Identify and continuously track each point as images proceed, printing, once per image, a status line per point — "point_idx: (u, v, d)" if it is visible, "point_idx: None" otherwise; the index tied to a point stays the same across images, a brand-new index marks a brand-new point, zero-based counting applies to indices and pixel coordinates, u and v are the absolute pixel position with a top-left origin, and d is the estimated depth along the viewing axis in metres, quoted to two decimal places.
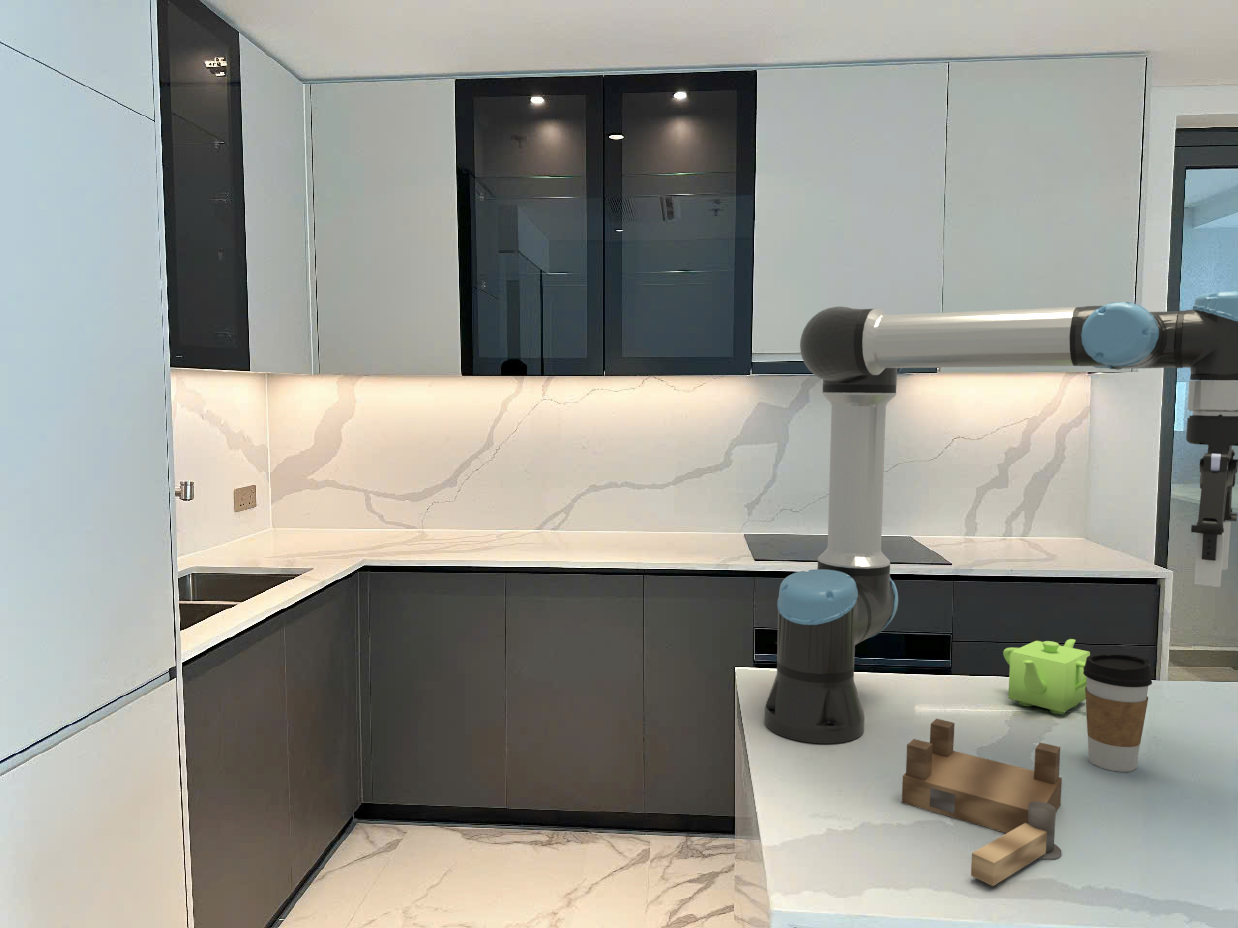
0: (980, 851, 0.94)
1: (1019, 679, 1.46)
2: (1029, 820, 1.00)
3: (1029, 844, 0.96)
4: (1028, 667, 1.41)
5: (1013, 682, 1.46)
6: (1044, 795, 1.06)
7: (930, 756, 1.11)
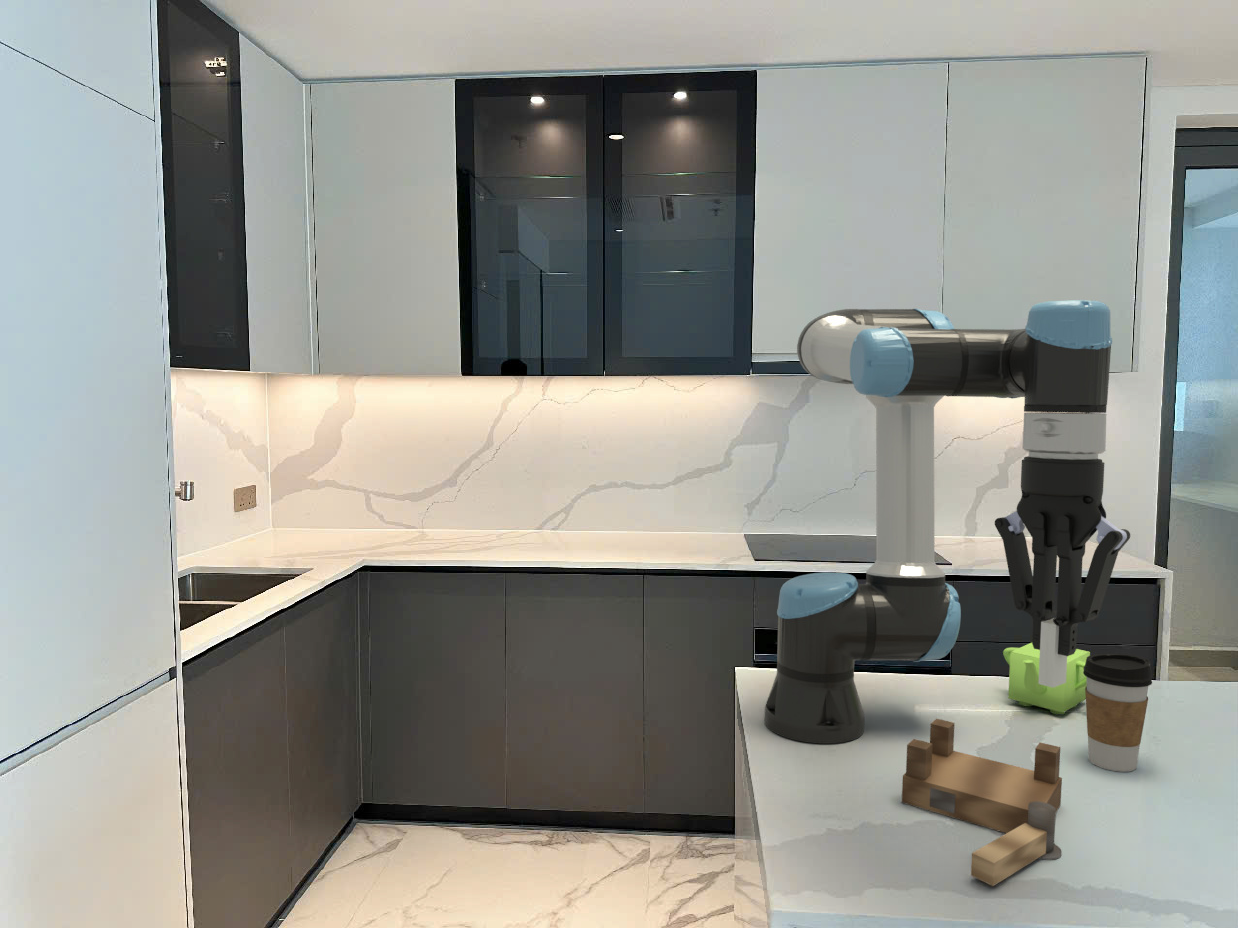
0: (980, 851, 0.94)
1: (1019, 679, 1.46)
2: (1029, 820, 1.00)
3: (1029, 844, 0.96)
4: (1028, 667, 1.41)
5: (1013, 682, 1.46)
6: (1044, 795, 1.06)
7: (930, 756, 1.11)
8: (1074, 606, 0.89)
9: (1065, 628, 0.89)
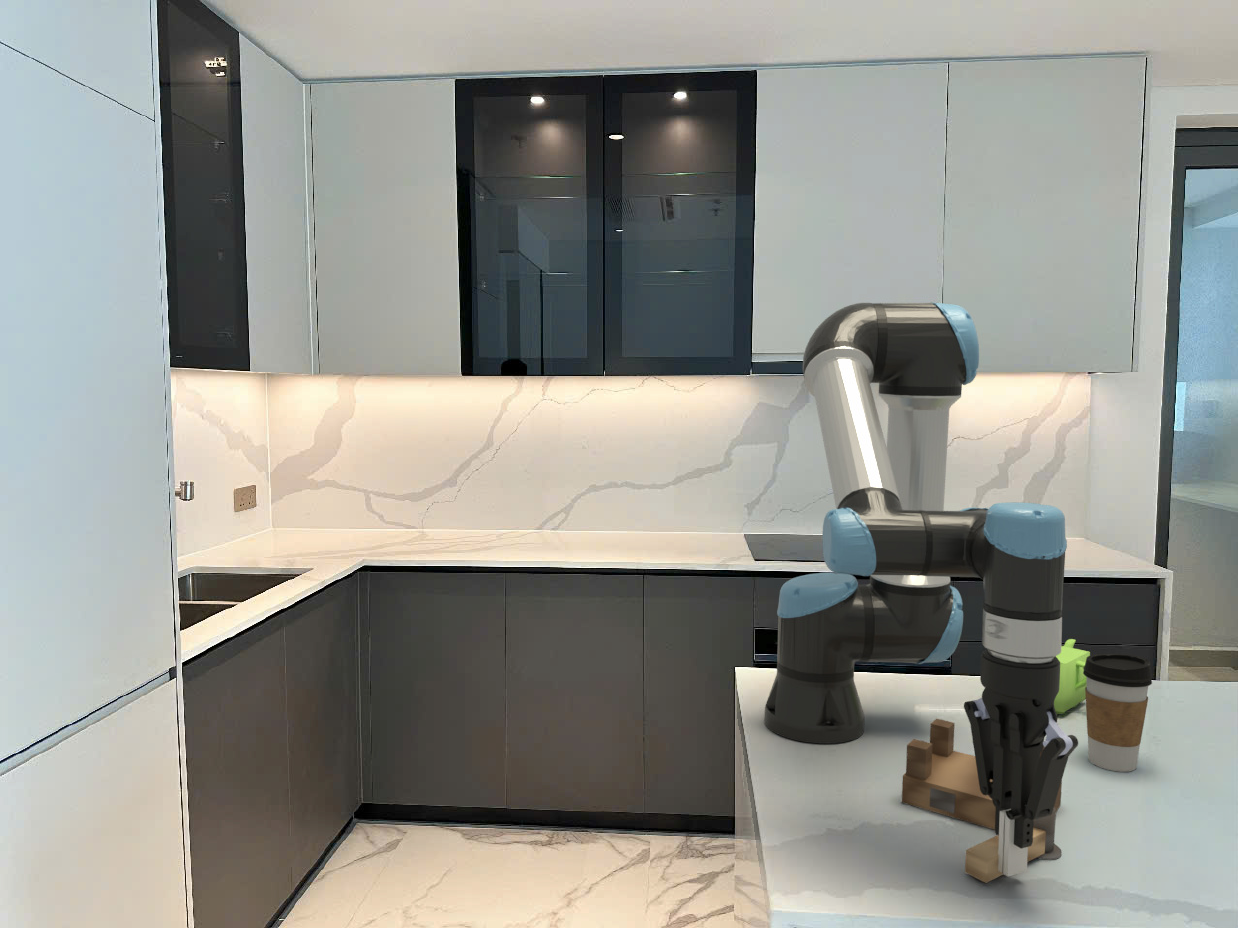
0: (974, 848, 0.95)
1: None
2: None
3: None
4: None
5: None
6: None
7: (930, 756, 1.11)
8: (1028, 801, 0.91)
9: (1019, 821, 0.92)
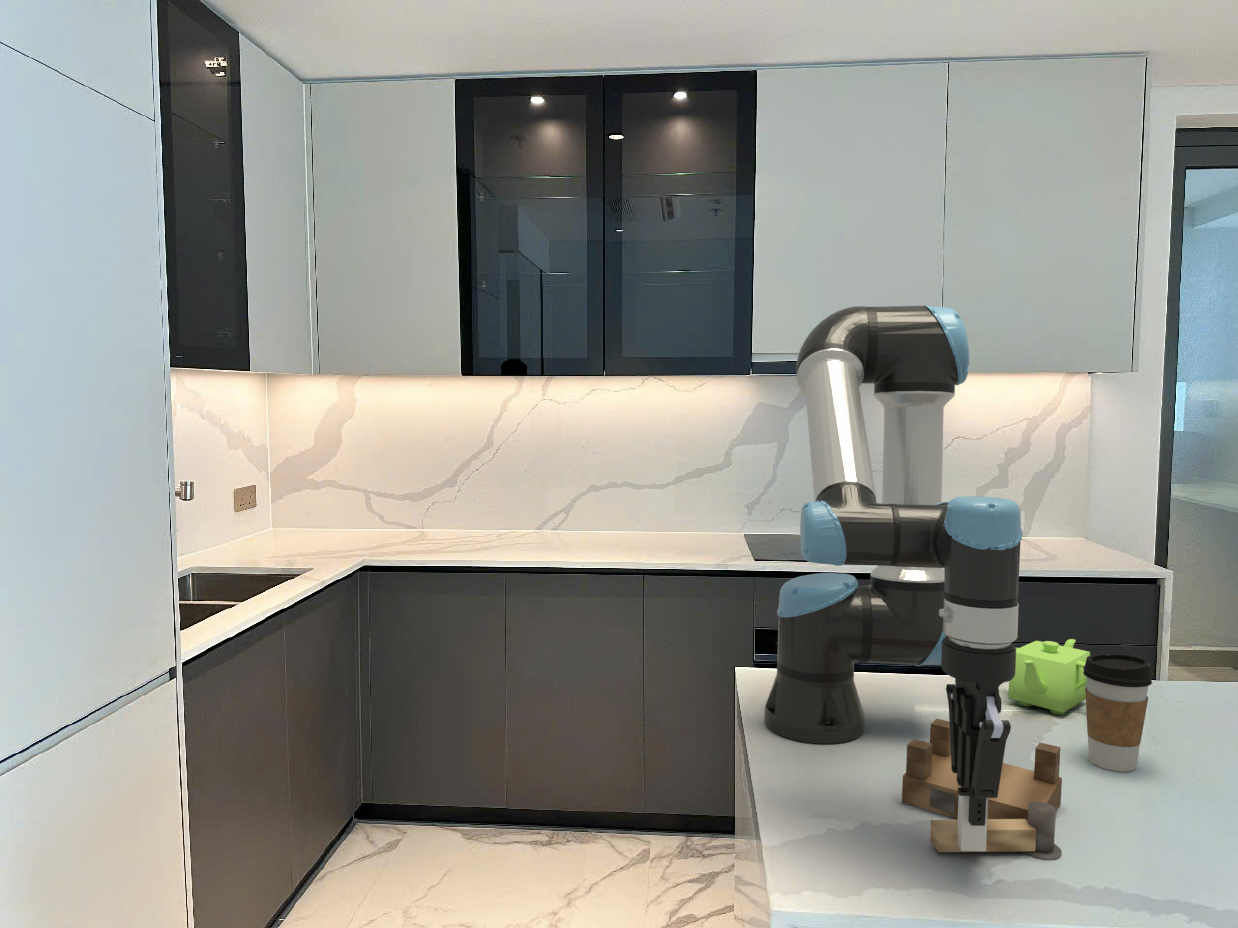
0: (941, 821, 1.01)
1: (1019, 679, 1.46)
2: (1028, 817, 1.01)
3: (1003, 832, 0.99)
4: (1028, 667, 1.41)
5: (1013, 682, 1.46)
6: (1044, 795, 1.06)
7: (930, 756, 1.11)
8: None
9: (971, 799, 0.96)
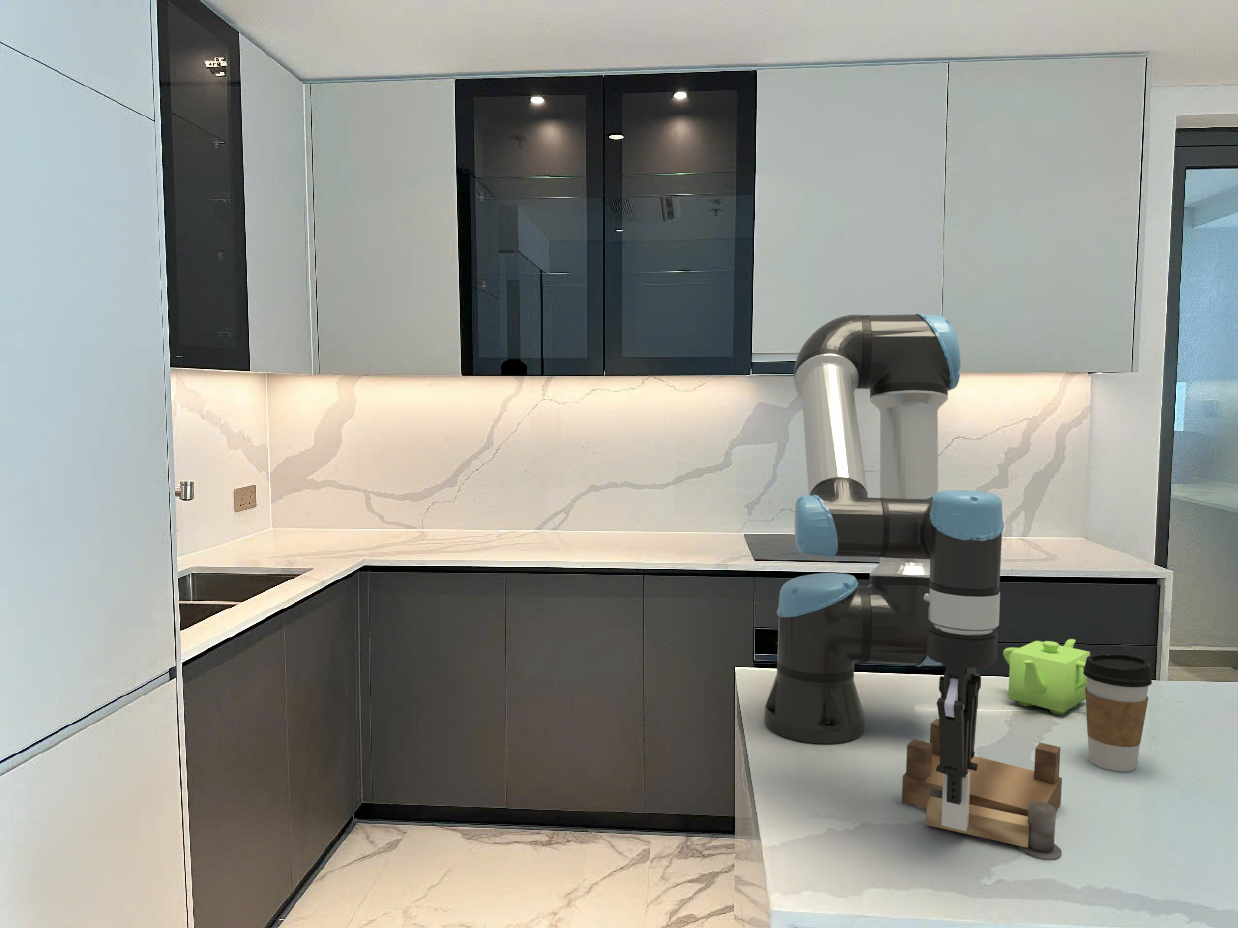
0: (938, 799, 1.06)
1: (1019, 679, 1.46)
2: None
3: (992, 821, 1.02)
4: (1028, 667, 1.41)
5: (1013, 682, 1.46)
6: (1044, 795, 1.06)
7: (930, 756, 1.11)
8: None
9: None
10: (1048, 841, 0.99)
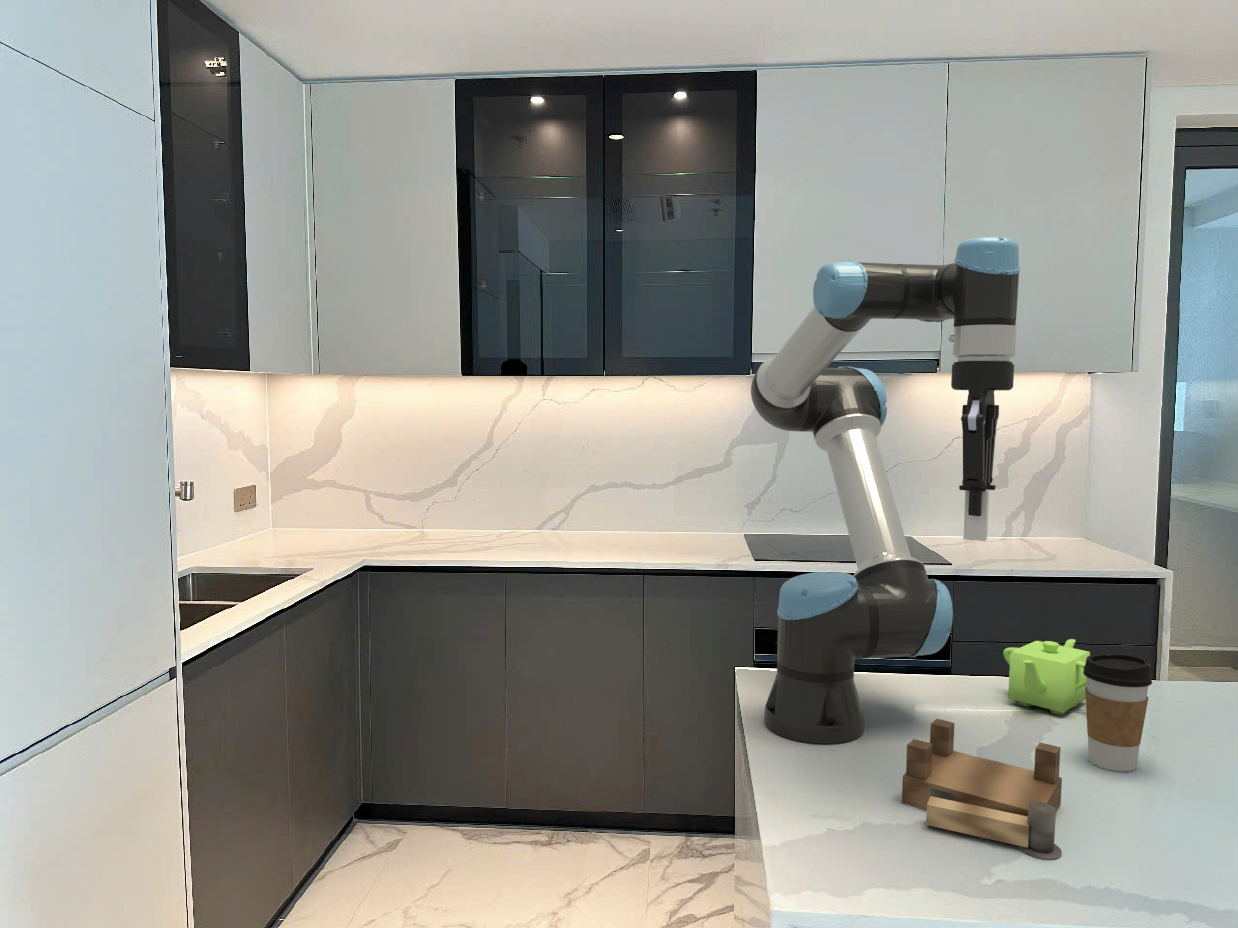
0: (938, 799, 1.06)
1: (1019, 679, 1.46)
2: None
3: (992, 821, 1.02)
4: (1028, 667, 1.41)
5: (1013, 682, 1.46)
6: (1044, 795, 1.06)
7: (930, 756, 1.11)
8: None
9: None
10: (1048, 841, 0.99)
